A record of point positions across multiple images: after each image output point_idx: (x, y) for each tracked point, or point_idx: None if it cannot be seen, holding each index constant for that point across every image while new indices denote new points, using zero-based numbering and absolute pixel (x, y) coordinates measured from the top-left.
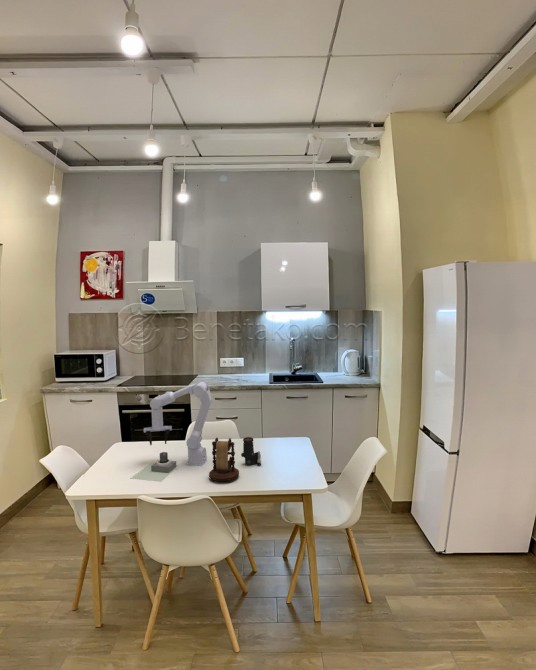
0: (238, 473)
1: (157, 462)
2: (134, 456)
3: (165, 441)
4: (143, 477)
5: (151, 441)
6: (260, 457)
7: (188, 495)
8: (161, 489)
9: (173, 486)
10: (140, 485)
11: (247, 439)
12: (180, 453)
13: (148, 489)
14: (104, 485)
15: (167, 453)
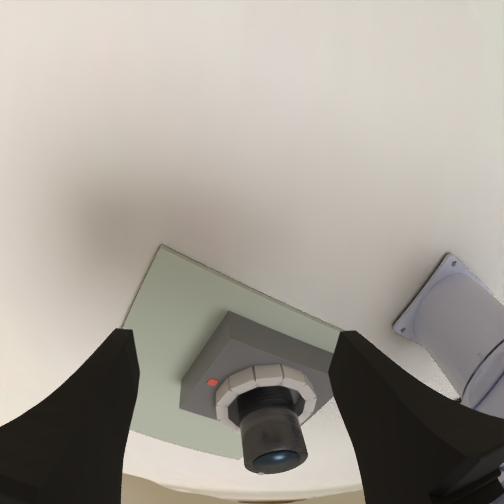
0: None
1: (221, 417)
2: (25, 40)
3: (345, 407)
4: (151, 423)
5: (124, 383)
6: None
7: (312, 496)
8: (239, 481)
9: (282, 473)
10: (155, 455)
11: None
12: (414, 86)
13: (193, 476)
14: (17, 411)
15: (305, 459)
